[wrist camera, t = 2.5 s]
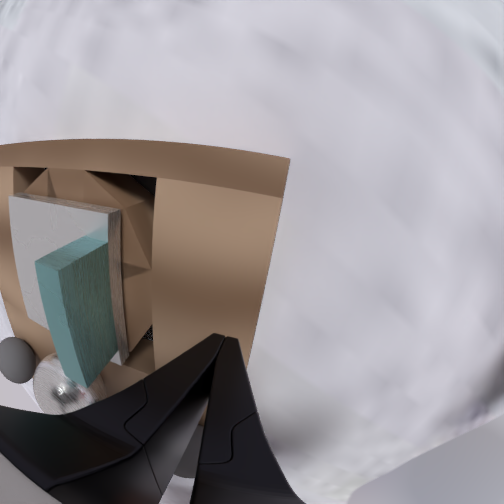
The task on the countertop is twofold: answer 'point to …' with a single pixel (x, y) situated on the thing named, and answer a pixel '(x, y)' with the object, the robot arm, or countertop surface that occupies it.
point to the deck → (158, 239)
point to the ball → (63, 389)
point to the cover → (72, 279)
